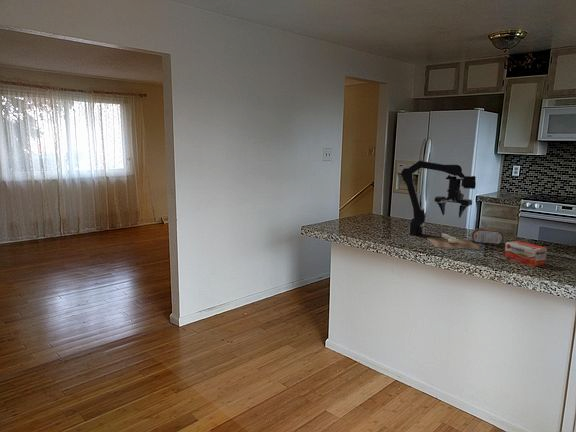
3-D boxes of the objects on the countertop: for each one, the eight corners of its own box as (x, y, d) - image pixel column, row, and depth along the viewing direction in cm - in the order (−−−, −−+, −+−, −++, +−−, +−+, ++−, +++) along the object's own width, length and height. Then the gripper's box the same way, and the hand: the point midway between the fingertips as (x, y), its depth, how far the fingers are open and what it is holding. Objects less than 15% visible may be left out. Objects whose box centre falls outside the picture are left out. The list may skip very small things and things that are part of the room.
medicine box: (503, 258, 194) (505, 241, 193) (514, 256, 197) (516, 240, 196) (533, 267, 181) (536, 249, 179) (545, 265, 184) (548, 248, 183)
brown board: (434, 249, 207) (435, 246, 207) (426, 239, 227) (426, 237, 227) (480, 251, 205) (480, 248, 205) (467, 241, 225) (468, 238, 224)
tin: (501, 245, 218) (503, 229, 216) (502, 246, 215) (504, 231, 213) (470, 242, 223) (472, 227, 221) (471, 243, 220) (473, 228, 218)
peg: (458, 243, 214) (459, 238, 214) (451, 243, 213) (451, 238, 212) (444, 237, 226) (444, 232, 225) (437, 237, 225) (437, 233, 224)
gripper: (477, 188, 222) (474, 217, 225) (444, 185, 235) (442, 212, 238) (469, 190, 214) (466, 219, 217) (435, 186, 228) (432, 214, 230)
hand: (451, 216), depth 226 cm, fingers open, 9 cm apart
